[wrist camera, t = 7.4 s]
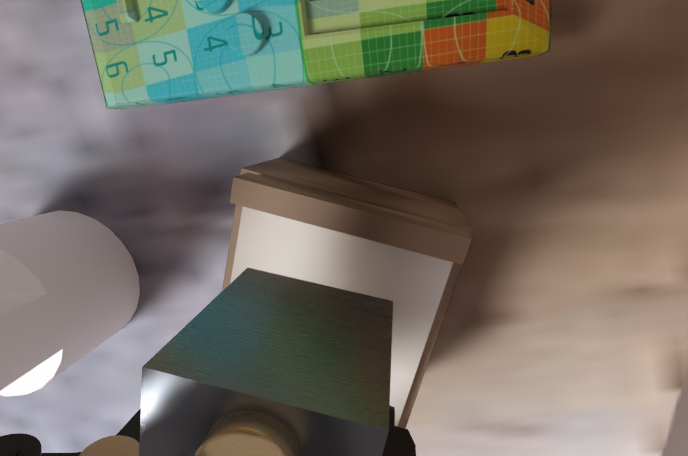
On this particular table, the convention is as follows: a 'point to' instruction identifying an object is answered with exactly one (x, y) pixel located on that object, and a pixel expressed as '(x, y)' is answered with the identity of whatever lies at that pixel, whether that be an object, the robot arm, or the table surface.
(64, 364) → the cylinder with rectangular tab
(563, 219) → the table surface
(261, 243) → the stand
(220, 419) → the block
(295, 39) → the puzzle game
